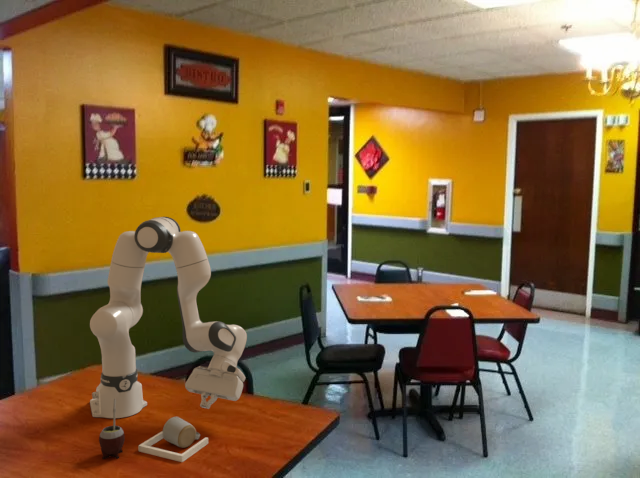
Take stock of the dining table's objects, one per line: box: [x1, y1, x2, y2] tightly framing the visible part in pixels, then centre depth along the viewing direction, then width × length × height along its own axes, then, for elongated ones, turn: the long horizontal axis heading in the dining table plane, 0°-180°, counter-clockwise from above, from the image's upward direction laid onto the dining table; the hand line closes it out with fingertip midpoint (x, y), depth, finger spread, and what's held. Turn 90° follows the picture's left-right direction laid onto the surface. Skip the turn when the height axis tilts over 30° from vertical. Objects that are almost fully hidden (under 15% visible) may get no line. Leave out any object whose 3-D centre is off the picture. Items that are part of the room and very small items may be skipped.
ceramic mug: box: [162, 416, 201, 449], centre depth 179 cm, size 11×8×8 cm
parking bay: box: [137, 430, 209, 463], centre depth 176 cm, size 16×13×2 cm
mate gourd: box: [98, 399, 126, 460], centre depth 171 cm, size 8×8×15 cm
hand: (204, 407), depth 191 cm, fingers closed
